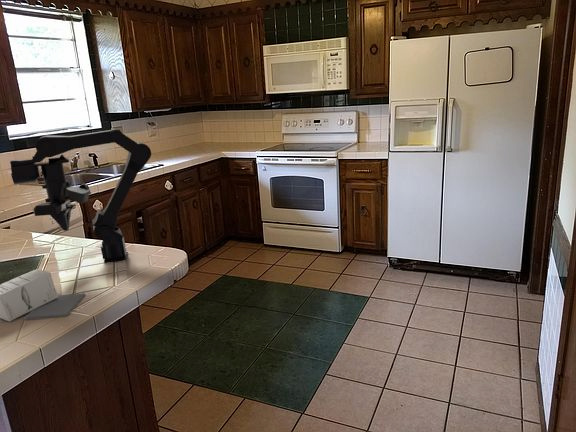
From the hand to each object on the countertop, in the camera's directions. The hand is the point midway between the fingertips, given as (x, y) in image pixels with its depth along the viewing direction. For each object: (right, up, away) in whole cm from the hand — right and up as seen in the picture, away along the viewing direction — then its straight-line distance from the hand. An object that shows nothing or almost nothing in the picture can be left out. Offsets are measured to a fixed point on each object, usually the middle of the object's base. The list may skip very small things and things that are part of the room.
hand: (66, 230), depth 133 cm
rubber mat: (+9, -18, -22) cm, 30 cm away
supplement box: (+4, -13, -18) cm, 23 cm away
